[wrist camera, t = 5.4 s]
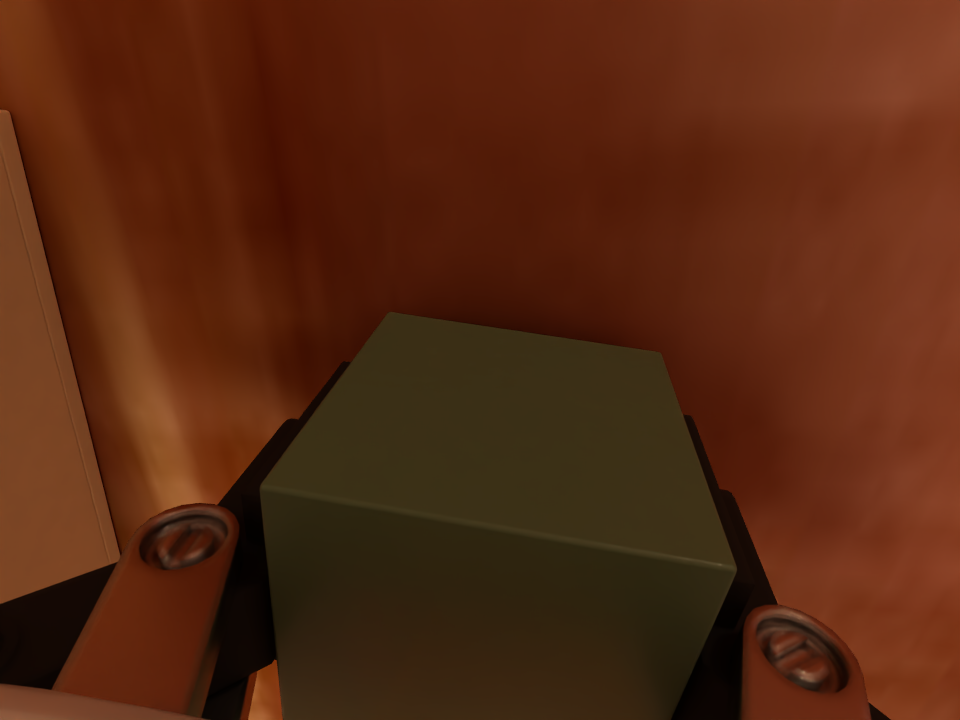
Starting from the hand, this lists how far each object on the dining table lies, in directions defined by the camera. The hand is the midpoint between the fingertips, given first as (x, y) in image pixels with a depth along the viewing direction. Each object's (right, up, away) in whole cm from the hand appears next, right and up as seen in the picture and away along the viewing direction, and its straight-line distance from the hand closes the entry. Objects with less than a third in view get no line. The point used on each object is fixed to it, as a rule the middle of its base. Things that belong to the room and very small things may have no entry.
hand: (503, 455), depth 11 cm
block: (0, 0, 0) cm, 0 cm away
